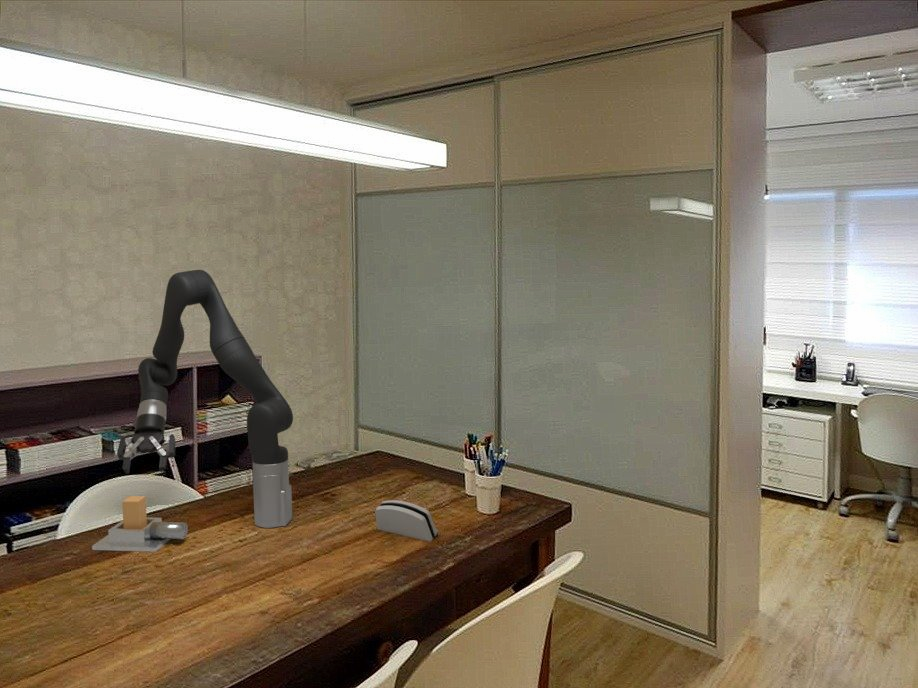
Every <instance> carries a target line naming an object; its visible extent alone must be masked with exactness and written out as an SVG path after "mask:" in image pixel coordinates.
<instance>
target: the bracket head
mask: <svg viewBox="0 0 918 688" xmlns="http://www.w3.org/2000/svg"><path fill="white" fill-rule="evenodd" d="M188 530H189V528H188V523H187V522H175V521H173V522H171V521H170V522H169V521H168V522H167V521H163V520H162V517H150V516H149V517H147V526H145V527H144V528H143V529H124V525H123V519H122V520H120V521H119V522H118V523H117V524H115V525H114V526H112V527H111V528H110V529H109V528H108V530H107V532H108V534H107V535H105V536H104V537H103V538H102V539H99V540H98V541H97V542H96V543H94V544H93V545H92V546H91V550H92V551H121V552H153V553H154V552H155V553H156V552H158V551H159V550H160V549H161V548H162V547H163V546H165V544H167V543H168V542H169V541H170V540H185V538H186V537H187V535H188Z"/></svg>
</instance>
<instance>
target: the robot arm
mask: <svg viewBox="0 0 918 688" xmlns="http://www.w3.org/2000/svg"><path fill="white" fill-rule="evenodd" d="M163 302H164V303H163V309H162V317H161V322H160V323H161V324H160V328H159V331H158V334H157V336H156V340H155V341H154V344H153V347H152V355H153V357H154V358H151V357H146V358H144V359H143V360H142V361H140V363H139V365H138V368H137V369H138V370H137V373H138V379H139V380H138V381H139V384H140V389H141V390H140V392H141V393H140V402H139V407H138V409H137V414H136V420H135V427H134V432H133V436H132V437H130V438H129V437H127V438H126V436H124V435H123V436H121V437H120V439H119V444H118V448H117V452H116V455H117V457H118V460H119V461H123V462H122V467H121V468H122V470H123V472H124V473H125V475H126V474H128V475H129V474H130V469H131V465H132V464H131V460H133V459H134V458H135V457H137V456H138V455H139V454H147V453H149V454H153V453H154V452H156V453H157V454H158V455H159V465H158V471H159V472H160V473H163V472H164V471H165V470H166V469H167V463H168V459H169V458H175V456H176V438H175V435H174V434H173V433H171V434H169V435H168V436H165V428H166V421H167V406H168V398H169V397H168V396H169V393H168V389H167V388H166V387H165V386H171V385H173V384H174V383H175V381H176V380H177V377H178V359H179V358H178V357H179V354H180V352H181V349H182V347H183V345H184V340H185V329H184V326H183V323H182V320H181V319H182V318H181V317H182V315H183V312H184V310H185V309H186V308H187V306H194V305H198V304H199V305H200V306H201V307H202V309H203V310H204V312H205V313H206V316H207V317H208V322H209V348H210V350H211V353H212V354H213V357H214V358H215V359H216V362H217V363H218V365H219V366H220V368H221V370H222V371H223V372H225V374H226V375H228V376H229V377H230V378H231V379H233V380H234V381H235V382H237V383H238V384H239V385H241V386H242V387H244V389H246V391H248V393H250V395H251V396H252V397H253V399H254V400H255V402H256V404H254V405H251V407H250V409H249V410H248V413H247V416H246V428H247V429H246V431H247V442H248V449H249V452H250V454H251V458H252V483H253V484H252V485H253V509H254V510H253V512H254V514H253V518H254V524H255V526H256V527H260V528H265V529H270V528H271V529H272V528H280V527H286V526H287V525H289V522H291V520H292V519H293V503H292V502H293V494H292V484H290V481H289V479H290V478H289V476H290V474H289V472H290V471H289V451H288V448H287V447H285V446H282V445H279V436H278V434H281V433H283V432H285V431H287V430H288V429H289V428H291V426H292V424H293V421H294V416H293V411H292V408H291V407H290V404H289V403H288V401H287V399H285V397H284V396H283V394H282V393H281V392H280V390H278V388H277V387H276V386H275V384H274V383H273V381H272V380H271V378H270V377H269V375H268V374H267V373H266V371H265V370H264V368H263V366H262V364H261V363H260V361H259V360H258V359H257V356H256V355H255V353H254V352H253V349H252V348H251V346H250V345H249V343H248V341H247V340H246V338H245V337H244V335H243V333H242V332H241V330H240V329H239V327H238V325H237V324H236V322H235V320H234V318H233V317H232V314H231V313H230V312H229V309H228V307H227V306H226V304H225V301H224V299H223V298H222V295H221V293H220V291H219V289H218V287H217V285H216V283H215V281H214V279H213V278H212V277H211V275H210V274H209V273H208V271H205V270H203V269H192V270H187V271H180V272H176V273H174V274H173V275H171V276H170V277H169V279H168V282H167V286H166V291H165V298H164V301H163ZM165 442H166V444H167V445H168V450H167V451H165V449H164V448H163V446H162V445H163V444H165ZM130 444H132V445H130ZM129 446H130V447H129ZM127 447H129V449H128V451H126V450H127Z"/></svg>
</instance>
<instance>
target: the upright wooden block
mask: <svg viewBox="0 0 918 688" xmlns="http://www.w3.org/2000/svg"><path fill="white" fill-rule="evenodd" d="M121 503H122V504H121V505H122V507H121V508H122V520H123V525H124V529H143V528H144V527H145V526H147V500H146V496H145V495H143V496H142V495H140V496H137V495H130V496H128V497H126V498H125V499H124V500H122V501H121Z"/></svg>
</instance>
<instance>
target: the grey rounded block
mask: <svg viewBox="0 0 918 688" xmlns="http://www.w3.org/2000/svg"><path fill="white" fill-rule="evenodd" d="M374 513H375V520H376V530H378V531H383V532H387V533H391V534H396V535H399V536H403V537H408V538H413V539H417V540H421V541H427V542H432V540H434V538H433V537H434V536H435V537H436V536H440V531H439V529H438V528H436V527H435V523H434V521H433V517H432V515H431V512H430V511H429V510H428V509H426V508H424V507H422V506H419V505H417V504H414V503H411V502H408V501H405V500H396V499H394V500H393V499H392V500H384V501H382V502H381V503H380V504H379V506H377V507H376V509H375V511H374Z"/></svg>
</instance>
